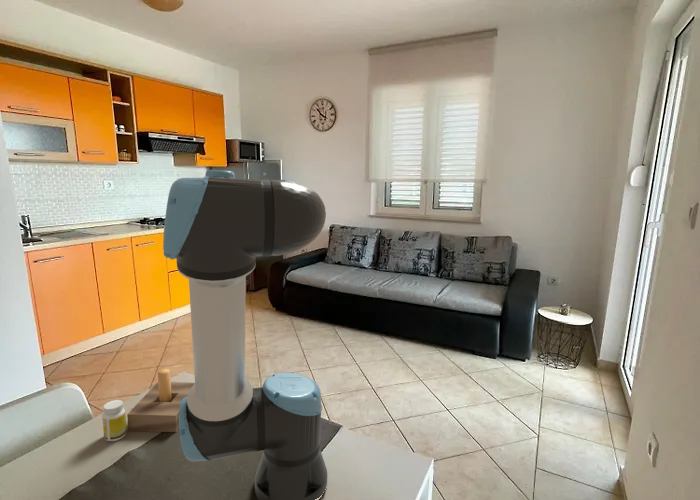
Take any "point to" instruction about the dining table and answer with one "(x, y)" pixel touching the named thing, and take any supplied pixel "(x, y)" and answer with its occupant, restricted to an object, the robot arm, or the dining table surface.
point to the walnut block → (158, 410)
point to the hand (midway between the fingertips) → (222, 303)
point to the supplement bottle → (114, 421)
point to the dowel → (164, 385)
